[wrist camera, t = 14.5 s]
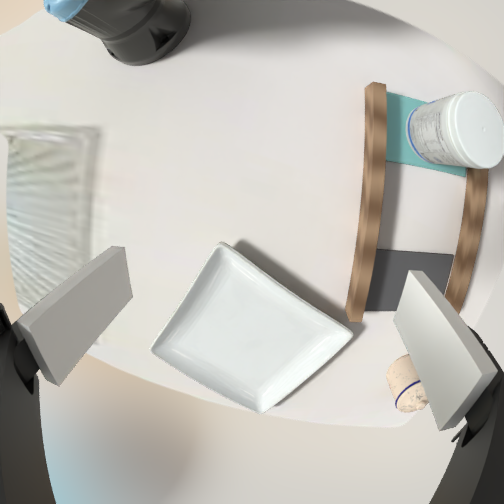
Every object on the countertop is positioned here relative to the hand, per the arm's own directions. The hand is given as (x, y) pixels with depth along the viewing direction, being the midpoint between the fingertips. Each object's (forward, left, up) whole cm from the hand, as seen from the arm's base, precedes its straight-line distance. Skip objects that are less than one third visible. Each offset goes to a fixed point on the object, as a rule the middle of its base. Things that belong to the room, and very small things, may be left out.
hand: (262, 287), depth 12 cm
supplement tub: (-13, +24, -30) cm, 40 cm away
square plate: (+25, -4, -30) cm, 39 cm away
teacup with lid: (+33, +31, -30) cm, 54 cm away
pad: (-13, +24, -30) cm, 41 cm away
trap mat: (+12, +24, -30) cm, 40 cm away
